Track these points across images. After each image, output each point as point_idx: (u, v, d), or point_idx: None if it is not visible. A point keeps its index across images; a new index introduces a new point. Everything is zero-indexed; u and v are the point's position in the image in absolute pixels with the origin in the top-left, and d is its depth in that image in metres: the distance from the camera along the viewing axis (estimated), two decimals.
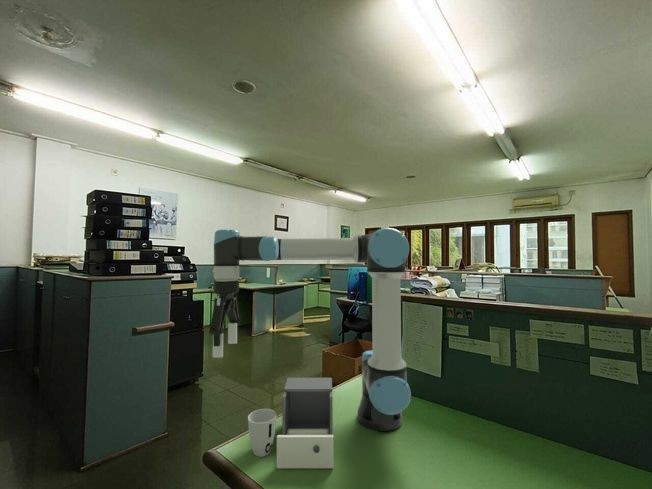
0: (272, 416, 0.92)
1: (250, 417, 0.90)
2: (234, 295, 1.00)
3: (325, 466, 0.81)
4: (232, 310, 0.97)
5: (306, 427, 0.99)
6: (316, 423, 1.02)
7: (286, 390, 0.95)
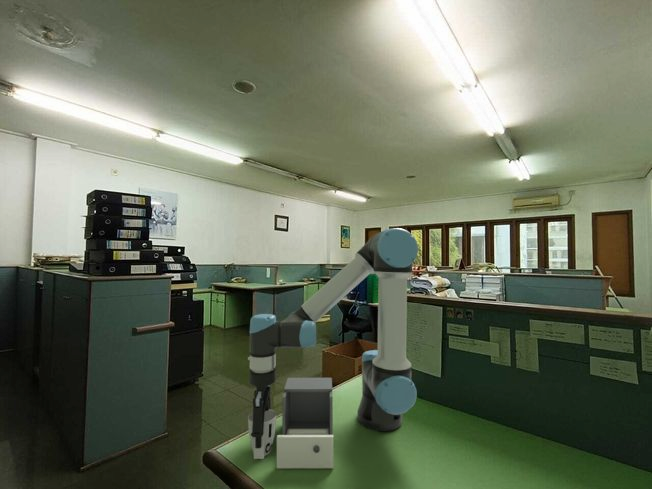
0: (272, 416, 0.92)
1: (250, 417, 0.90)
2: None
3: (325, 466, 0.81)
4: (267, 401, 0.92)
5: (306, 427, 0.99)
6: (316, 423, 1.02)
7: (286, 390, 0.95)
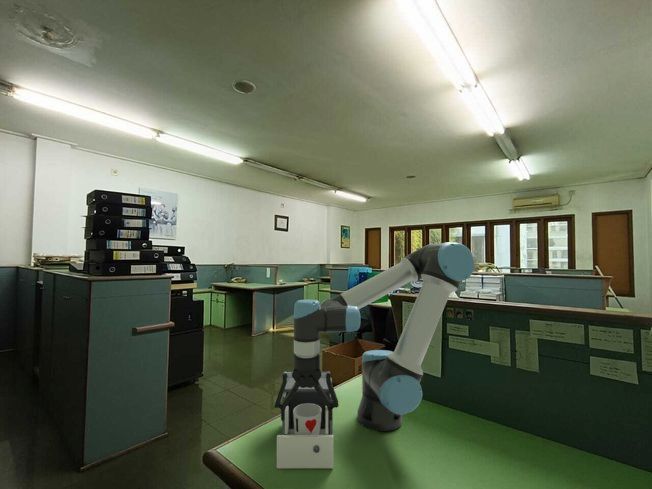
0: None
1: (310, 407, 0.92)
2: (326, 375, 0.88)
3: (325, 466, 0.81)
4: None
5: None
6: None
7: (286, 390, 0.95)
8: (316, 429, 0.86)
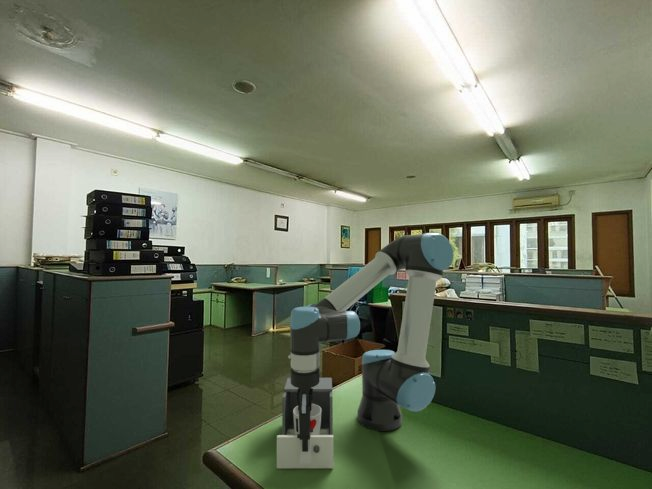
0: None
1: None
2: None
3: (325, 466, 0.81)
4: None
5: None
6: None
7: (286, 390, 0.95)
8: (316, 429, 0.86)
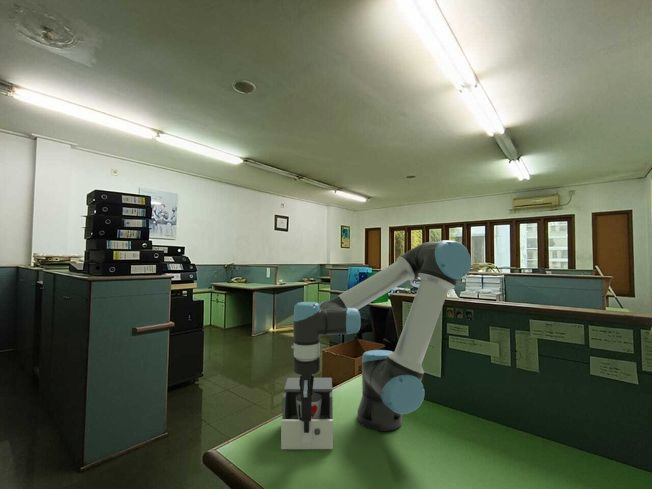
0: None
1: (312, 395, 1.00)
2: (310, 375, 0.93)
3: (325, 447, 0.89)
4: None
5: None
6: None
7: (286, 390, 0.95)
8: (317, 414, 0.94)
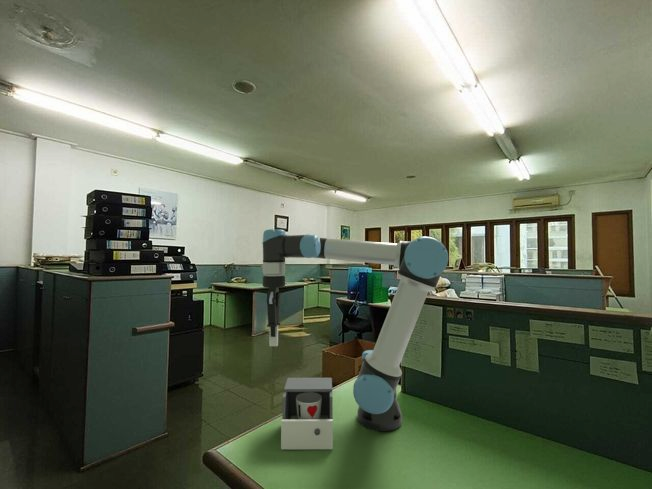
0: None
1: (312, 395, 1.00)
2: None
3: (325, 447, 0.89)
4: (276, 306, 1.04)
5: None
6: None
7: (286, 390, 0.95)
8: (317, 414, 0.93)
